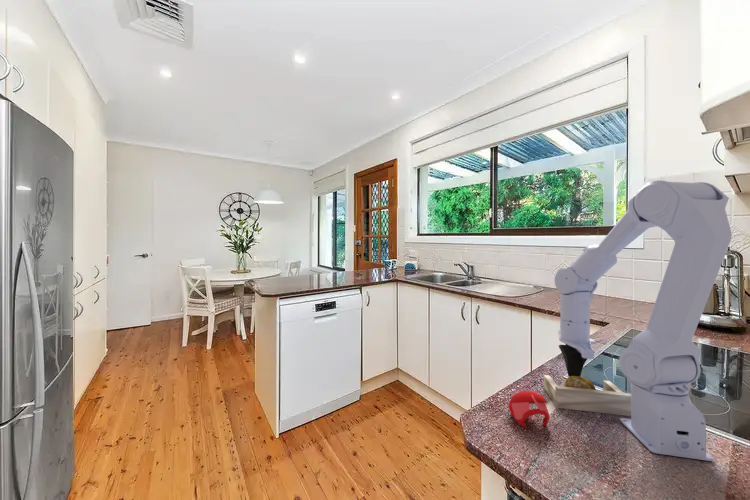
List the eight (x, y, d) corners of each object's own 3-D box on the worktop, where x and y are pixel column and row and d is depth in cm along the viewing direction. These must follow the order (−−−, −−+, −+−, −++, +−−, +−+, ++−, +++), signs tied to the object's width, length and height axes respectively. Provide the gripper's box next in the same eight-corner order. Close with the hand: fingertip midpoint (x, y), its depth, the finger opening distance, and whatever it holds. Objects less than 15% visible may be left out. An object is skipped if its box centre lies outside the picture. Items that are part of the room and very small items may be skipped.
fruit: (547, 391, 67) (547, 375, 67) (569, 383, 71) (569, 368, 71) (586, 409, 60) (586, 392, 60) (608, 399, 63) (608, 382, 63)
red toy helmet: (564, 415, 52) (547, 385, 57) (536, 408, 51) (521, 377, 56) (535, 437, 56) (521, 406, 61) (509, 431, 55) (497, 400, 60)
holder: (634, 416, 57) (634, 396, 57) (557, 407, 60) (557, 388, 60) (609, 394, 66) (609, 376, 66) (543, 387, 69) (543, 370, 69)
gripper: (611, 330, 60) (610, 395, 60) (580, 313, 74) (580, 366, 74) (572, 327, 62) (571, 391, 62) (549, 312, 76) (549, 363, 76)
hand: (574, 377), depth 68 cm, fingers closed, pressing on fruit
